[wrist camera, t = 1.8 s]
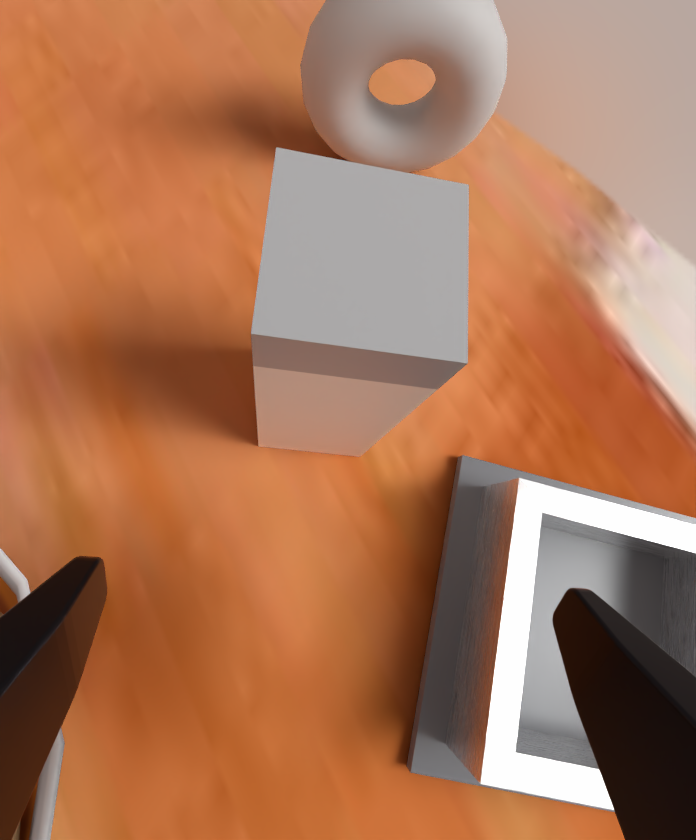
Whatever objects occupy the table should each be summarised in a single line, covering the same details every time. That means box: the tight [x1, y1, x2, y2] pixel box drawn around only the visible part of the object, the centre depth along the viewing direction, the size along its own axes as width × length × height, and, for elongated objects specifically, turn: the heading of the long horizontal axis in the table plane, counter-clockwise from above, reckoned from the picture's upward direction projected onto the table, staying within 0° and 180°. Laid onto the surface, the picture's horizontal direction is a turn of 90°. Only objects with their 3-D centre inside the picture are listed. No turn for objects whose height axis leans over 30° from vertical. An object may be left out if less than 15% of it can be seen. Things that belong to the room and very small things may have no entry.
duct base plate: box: [407, 455, 696, 812], centre depth 23 cm, size 14×14×1 cm
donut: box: [300, 0, 507, 173], centre depth 23 cm, size 10×4×10 cm, turn 89°
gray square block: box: [251, 147, 469, 457], centre depth 17 cm, size 5×5×13 cm
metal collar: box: [445, 478, 696, 810], centre depth 21 cm, size 11×11×4 cm
